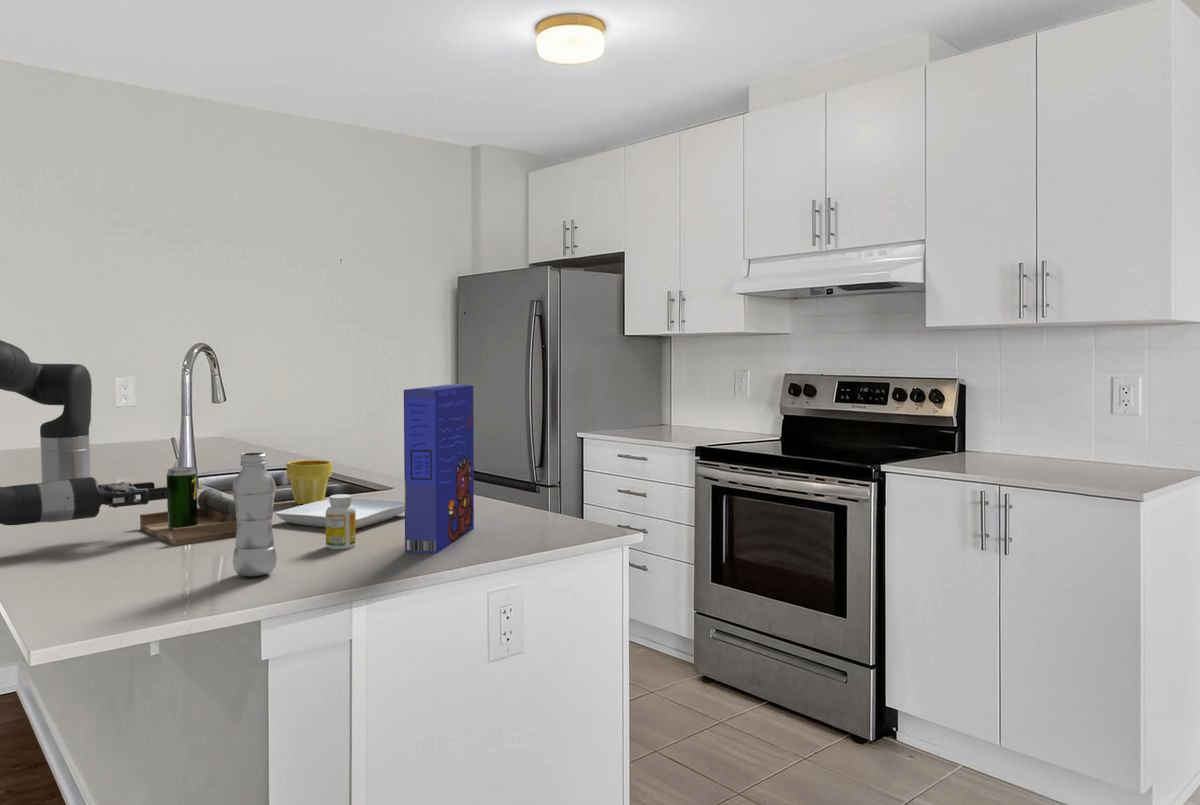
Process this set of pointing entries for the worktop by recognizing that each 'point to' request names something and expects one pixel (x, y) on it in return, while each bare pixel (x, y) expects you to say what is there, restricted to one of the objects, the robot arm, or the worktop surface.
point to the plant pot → (309, 479)
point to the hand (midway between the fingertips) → (161, 490)
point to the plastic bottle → (254, 517)
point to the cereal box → (438, 466)
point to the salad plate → (364, 508)
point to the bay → (212, 521)
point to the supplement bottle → (340, 523)
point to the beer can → (182, 497)
